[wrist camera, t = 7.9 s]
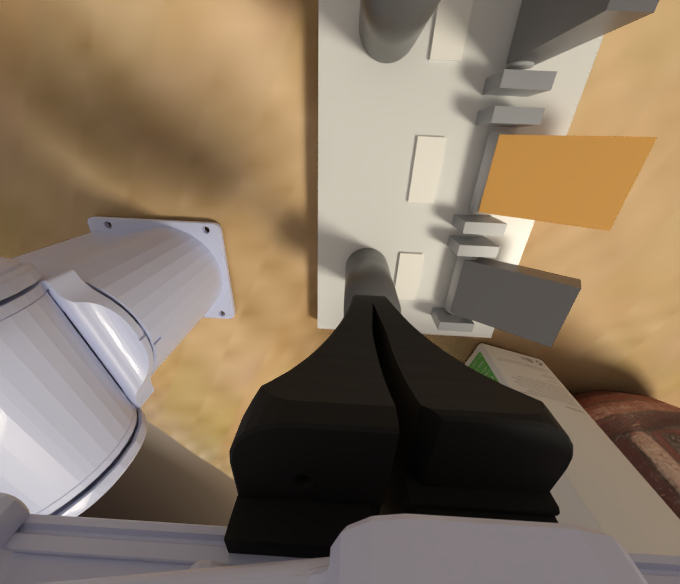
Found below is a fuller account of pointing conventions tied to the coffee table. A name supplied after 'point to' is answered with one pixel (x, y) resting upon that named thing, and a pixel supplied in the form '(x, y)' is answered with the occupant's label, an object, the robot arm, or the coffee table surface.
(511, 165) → the block
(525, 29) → the paddle
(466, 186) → the breaker panel
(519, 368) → the skincare box
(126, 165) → the coffee table surface
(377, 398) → the robot arm
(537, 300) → the paddle
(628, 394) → the pottery
